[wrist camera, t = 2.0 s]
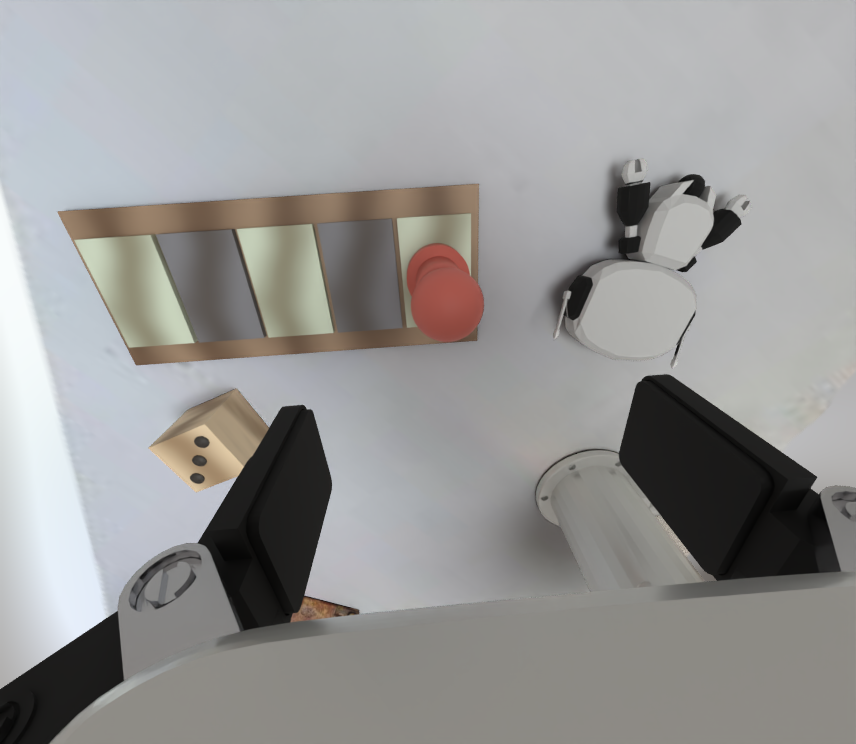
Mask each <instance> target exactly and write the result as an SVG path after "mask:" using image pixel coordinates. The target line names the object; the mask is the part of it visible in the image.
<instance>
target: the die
mask: <svg viewBox="0 0 856 744" xmlns="http://www.w3.org/2000/svg"><path fill="white" fill-rule="evenodd" d="M268 429H269V427H268V426H267V425H266V424H265V423H264V421H263V420H262V419H261V418H260V416H259V415H258V414H257V413H256V412H255V410H254V409H253V408H252V407H251V406H250V404H249V403H248V402H247V401H246V399H245V398H244V397H243V396H242V395H241V393H240V392H239V391H238V390H237V389H234V390H232V391H230V392H227V393H225V394H223V395H221V396H218V397H216V398H214V399H211V400H209V401H207V402H204V403H202V404H200V405H198V406H195V407H193V408H191V409H188V410H187V411H186V412H185V413H184V414H183V415H182V416H181V417H180V418H179V419H178V420H177V421H176V422H175V423H174V424H173V425H172V426H171V427H170V428H169V429H167V430H166V431H165V432H164V433H163V434H162V435H161V436H160V437H159V438H158V439H157V440H156V441H155V442H154V443H153V444H152V445H151V446H150V447H149V449H150V450H151V451H152V452H153V453H154V454H155V455H156V456H157V457H158V458H159V459H161V460H162V461H163V462H164V463H165V464H166V465H167V466H168V467H169V468H170V469H171V470H172V471H173V472H175V473H176V474H177V475H178V476H179V477H180V478H181V479H182V480H183V481H184V482H185V483H186V484H187V485H189V486H190V487H191V488H192V489H193V490H194V491H195V492H199V491H201V490H204V489H206V488H209V487H211V486H214V485H216V484H219V483H222V482H224V481H227V480H229V479H232V478H234V477H237V476H239V474H240V472H241V471H242V469H243V467H244V466H245V464H246V462H247V461H248V460H249V459H250V457H252V456H253V454H254V453H255V451H256V449H257V448H258V446H259V444H260V443H261V441H262V439H263V438H264V436H265V434H266V433H267V431H268Z"/></svg>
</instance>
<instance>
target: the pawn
mask: <svg viewBox="0 0 856 744" xmlns="http://www.w3.org/2000/svg"><path fill="white" fill-rule="evenodd" d="M407 287H408V290H409V292H410V295H411V296H412V298H411V313H412V316H413V319H414V322H415V323H416V325H417V327H418V328H419V329H420V330H421V331H422V332H423V333H424V334H425V335H426V336H428V337H430V338H432V339H434V340H437V341H441V342H453V341H457V340H460V339H463V338H464V337H466V336H468V335H469V334H470V333H471V332H473V330H474V329H475V328H476V327H477V325H478V324H479V322H480V320H481V318H482V315H483V310H484V299H483V294H482V291H481V289H480V287H479V285H478V284H477V282H476V281H475V280H474V279H473V278H472V277H471V276H470V272H469V268H468V265H467V263H466V261H465V260H464V259H463V257H462V256H461V255H460V254H459V253H458V252H457V251H456V250H455V249H454V248H452V247H451V246H448V245H446V244H441V243H433V244H429V245H426V246H424V247H422V248H420V249H419V250H418V251H417V252H416V253H415V254H414V255H413V256H412V258H411V260H410V262H409V264H408V268H407Z"/></svg>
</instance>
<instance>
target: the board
mask: <svg viewBox="0 0 856 744" xmlns="http://www.w3.org/2000/svg"><path fill="white" fill-rule="evenodd" d="M58 214H59V216H60V218H61V220H62V222H63V224H64V226H65V228H66V230H67V232H68V234H69V236H70V238H71V239H72V241H73V243H74V245H75V247H76V249H77V251H78V253H79V255H80V257H81V259H82V261H83V263H84V265H85V267H86V269H87V271H88V273H89V275H90V277H91V278H92V280H93V282H94V284H95V286H96V288H97V290H98V292H99V294H100V296H101V298H102V300H103V302H104V304H105V306H106V308H107V310H108V312H109V314H110V315H111V317H112V319H113V321H114V323H115V325H116V327H117V329H118V331H119V333H120V335H121V337H122V339H123V341H124V343H125V345H126V347H127V349H128V351H129V353H130V354H131V356H132V358H133V360H134V362H135V364H136V365H147V364H161V363H175V362H189V361H203V360H216V359H230V358H244V357H258V356H272V355H285V354H299V353H313V352H327V351H341V350H354V349H368V348H382V347H396V346H409V345H423V344H437V343H451V342H441V341H437V340H434V339H432V338H430V337H428V336H426V335H425V334H424V333H423V332H422V331H421V330H420V329H419V328H418V327H417V325H416V323H415V322H414V319H413V316H412V313H411V298H412V296H411V295H410V292H409V290H408V287H407V268H408V264H409V262H410V260H411V258H412V256H413V255H414V254H415V253H416V252H417V251H418V250H419V249H420V248H422V247H424V246H426V245H429V244H433V243H441V244H446V245H448V246H451V247H452V248H454V249H455V250H456V251H457V252H458V253H459V254H460V255H461V256H462V257H463V259H464V260H465V261H466V263H467V265H468V268H469V272H470V276H471V277H472V278H473V279H474V280H475V281H476V282H477V284H478V220H479V184H470V185H454V186H439V187H424V188H409V189H393V190H378V191H363V192H348V193H332V194H317V195H302V196H287V197H272V198H256V199H241V200H226V201H211V202H195V203H180V204H165V205H150V206H134V207H119V208H104V209H89V210H74V211H58ZM465 341H477V327H476V328H475V329H474V330H473V332H471V333H470V334H469V335H468V336H466V337H464V338H463V339H460V340H457V341H453V342H465Z"/></svg>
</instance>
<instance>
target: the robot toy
mask: <svg viewBox="0 0 856 744" xmlns="http://www.w3.org/2000/svg"><path fill="white" fill-rule="evenodd" d="M647 171H648V168H647V162H646V160H644V159H643V158H642V159H637V160H632V161H628V162H627V163H626V164H625V165H624V167H623V171H622V175H621V176H622V178H623V180H624V183H625V185H626V186H627V187H621V188H618V196H617V213H618V215H619V217H620V219H621V221H622V222H623V224H624V225H625V237H623V238H621V239H620V240H619V253H621V254H627V257H628V259H631V260H623V259H619V260H606V261H602V262H599V263H597V264H594V265H592V266H591V267H590V268H589V269H588V270H587V271H586V272H585V273H584V274H583V275H582V276H578V277H577V278H576V280H575V281H574V282H573V283H572V285H571V286H570V287H569V290H568V291H564V294H563V299H564V300H563V304H562V308H561V311H560V315H559V319H558V322H557V326H556V329H555V330H554V334H553V337H554V340H555V339H556V338H557V337H558V335H559V332H560V331H559V329H560V325H561V322H562V318H563V315H564V316H565V327H566V329H567V330H568V332H569V333H570V335H571V336H572V337H573V338H574V339H576V340H577V341H579V342H580V343H582V344H583V345H585V346H586V347H588V348H590V349H591V350H593V351H595V352H597V353H599V354H602V355H604V356H606V357H608V358H611V359H615V360H629V361H642V360H650V359H654V358H656V357H659V356H662V355H664V354H665V353H667V352H668V351H670V350H671V349H673V348H674V347H675V346H676V345H677V344H678V345H677V348H676V351H675V354H674V357H673V359H672V361H671V364H670V365H671V368H672V369H673V368H674V367H675V366H676V365H677V362H678V360H677V359H678V356H679V353H680V350H681V347H682V344H683V341H684V338H685V335H686V332H687V331H689V329H690V326H691V324H690V323H691V322H692V320H693V318H694V316H695V312H696V309H697V308H696V294H695V292H694V289H693V287H692V285H691V284H690V283H689V282H688V281H687V280H686V279H684V278H683V277H682V276H680V275H679V274H677V273H675V272H674V271H672V270H677V271H680V272H687V271H688V270H689V269H690V268H691V267H692V266H693V265H694V264H695V263H696V262H697V261H696V258H695V256H696V255H697V254H698V253H699V252H700V251H701V250H703V249H706V248H708V247H711V246H714V245H716V244H719V243H721V242H723V241H724V240H725V239H726V238H727V237H728V236H729V235H731V234H732V233H733V232H734V231H735V230H736V229H737V228H738V227H739V226H740V225H741V220H740V218H742V217H744V216H746V215H747V213H748V212H749V211H750V209H751V208H752V203H751V202H750V201H746V200H747V199H748V197H747V196H746V195H738V196H736V197H735V198H733V199H732V200H730V201H729V202H728V203H727V205H726V208H725V209H720V210H717V211H715V212H714V213H713V208H714V203H715V198H716V193H715V192H714V190H713V189H712V187H711V186H707V187H705V181H704V179H703V178H702V177H701V176H700V175H695V174H691V175H687V176H685V177H683V178H682V179H681V180H680V181H679V182H678V183H672V184H668V185H664V186H661V187H660V188H659V189H658V190H657V191H656V193H655V194H654V195H653V196H652V197H651V199H649V195H650V182H648V183H642V184H641V182H642V181H643V179H644V177H645V175H646V173H647ZM632 260H635V261H632ZM670 269H672V270H670Z"/></svg>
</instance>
